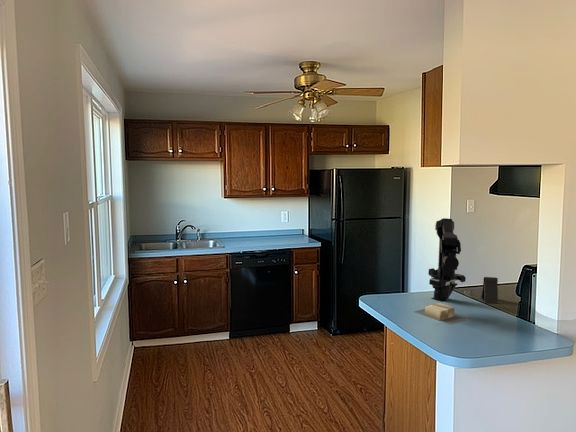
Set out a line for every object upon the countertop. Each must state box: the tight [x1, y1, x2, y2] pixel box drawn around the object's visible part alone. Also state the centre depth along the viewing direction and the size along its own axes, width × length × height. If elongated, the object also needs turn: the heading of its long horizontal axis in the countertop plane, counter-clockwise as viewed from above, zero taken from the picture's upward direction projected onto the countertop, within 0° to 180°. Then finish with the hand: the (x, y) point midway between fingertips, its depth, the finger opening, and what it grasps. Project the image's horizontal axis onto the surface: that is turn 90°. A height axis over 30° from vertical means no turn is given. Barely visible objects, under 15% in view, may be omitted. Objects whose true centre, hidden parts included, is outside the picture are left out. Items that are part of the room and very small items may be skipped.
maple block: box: [424, 302, 455, 321], centre depth 205 cm, size 4×8×10 cm
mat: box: [413, 308, 472, 326], centre depth 206 cm, size 15×20×1 cm
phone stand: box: [480, 276, 499, 304], centre depth 230 cm, size 9×6×12 cm, turn 170°
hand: (446, 298), depth 207 cm, fingers closed
